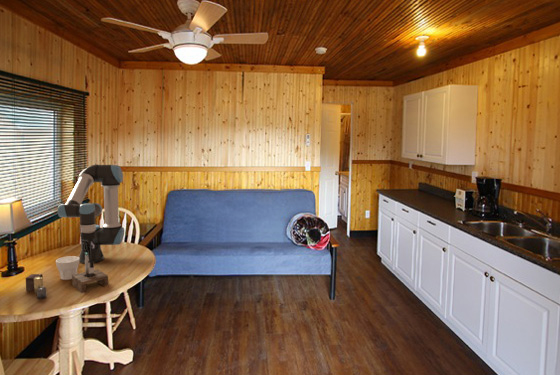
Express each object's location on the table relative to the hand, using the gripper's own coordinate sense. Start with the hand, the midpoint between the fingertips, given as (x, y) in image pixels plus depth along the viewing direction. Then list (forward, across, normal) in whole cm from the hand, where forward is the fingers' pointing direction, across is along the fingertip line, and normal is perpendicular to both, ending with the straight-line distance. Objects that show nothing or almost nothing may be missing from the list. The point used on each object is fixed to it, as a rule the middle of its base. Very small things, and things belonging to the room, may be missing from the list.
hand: (89, 271), depth 214 cm
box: (+8, -16, -23) cm, 29 cm away
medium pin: (+8, -9, -23) cm, 26 cm away
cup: (+8, -21, -4) cm, 23 cm away
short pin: (+8, -1, -24) cm, 25 cm away
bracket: (+8, 0, 0) cm, 8 cm away
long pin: (+3, 0, 0) cm, 3 cm away
